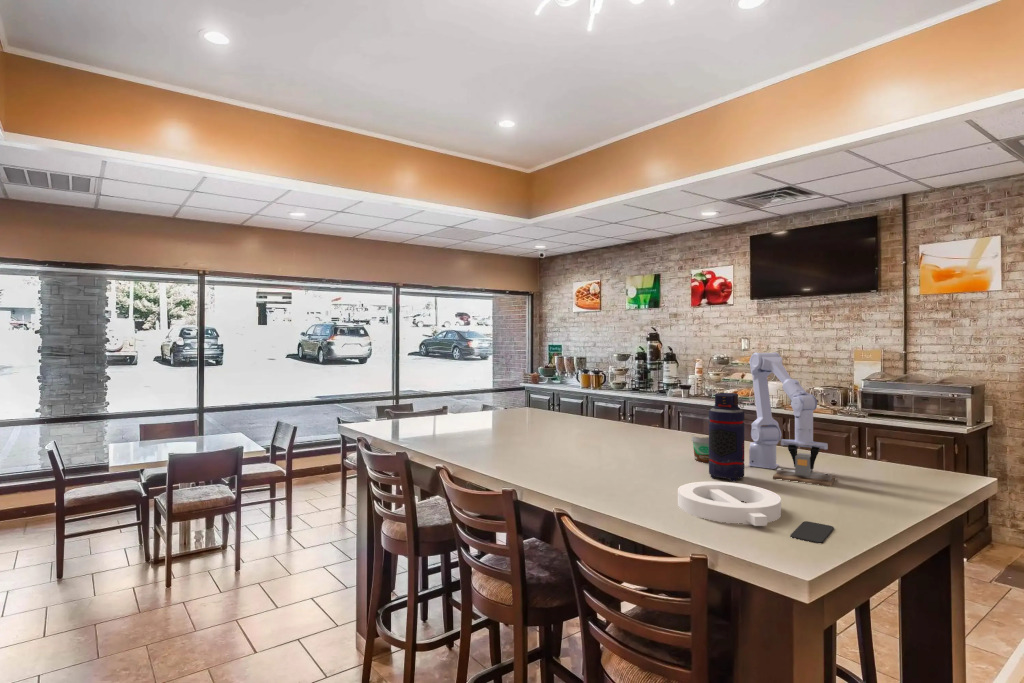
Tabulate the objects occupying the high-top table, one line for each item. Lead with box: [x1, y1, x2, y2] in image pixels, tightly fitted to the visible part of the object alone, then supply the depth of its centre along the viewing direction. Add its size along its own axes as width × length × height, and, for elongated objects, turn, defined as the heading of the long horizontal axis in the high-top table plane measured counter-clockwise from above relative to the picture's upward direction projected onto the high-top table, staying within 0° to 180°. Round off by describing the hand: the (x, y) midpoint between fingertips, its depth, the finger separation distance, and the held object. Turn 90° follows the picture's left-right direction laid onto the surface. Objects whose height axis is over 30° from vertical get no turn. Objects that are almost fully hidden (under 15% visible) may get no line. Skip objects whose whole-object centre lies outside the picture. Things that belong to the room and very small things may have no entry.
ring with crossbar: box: [677, 481, 782, 527], centre depth 165 cm, size 28×28×5 cm
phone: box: [789, 520, 835, 544], centre depth 145 cm, size 7×1×15 cm
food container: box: [690, 435, 710, 464], centre depth 227 cm, size 12×6×10 cm, turn 73°
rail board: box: [772, 467, 836, 487], centre depth 200 cm, size 18×12×3 cm, turn 55°
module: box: [794, 452, 814, 476], centre depth 200 cm, size 4×8×6 cm, turn 145°
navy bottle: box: [708, 392, 745, 482], centre depth 203 cm, size 14×12×30 cm
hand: (803, 467), depth 199 cm, fingers closed on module, 4 cm apart
